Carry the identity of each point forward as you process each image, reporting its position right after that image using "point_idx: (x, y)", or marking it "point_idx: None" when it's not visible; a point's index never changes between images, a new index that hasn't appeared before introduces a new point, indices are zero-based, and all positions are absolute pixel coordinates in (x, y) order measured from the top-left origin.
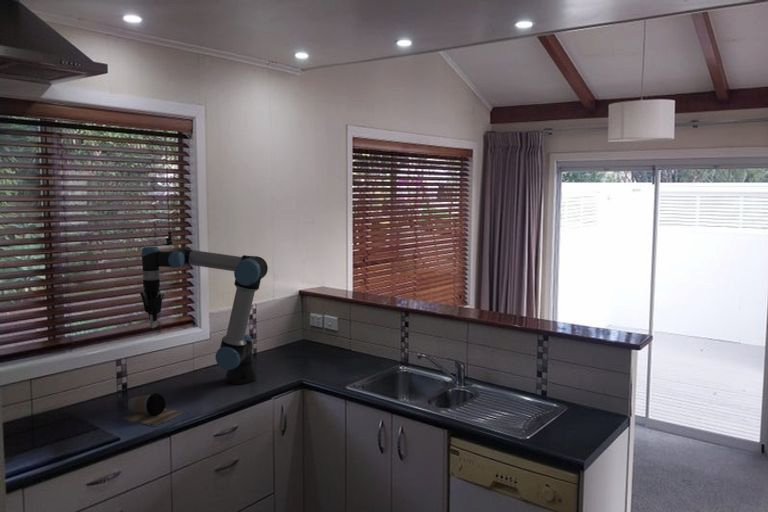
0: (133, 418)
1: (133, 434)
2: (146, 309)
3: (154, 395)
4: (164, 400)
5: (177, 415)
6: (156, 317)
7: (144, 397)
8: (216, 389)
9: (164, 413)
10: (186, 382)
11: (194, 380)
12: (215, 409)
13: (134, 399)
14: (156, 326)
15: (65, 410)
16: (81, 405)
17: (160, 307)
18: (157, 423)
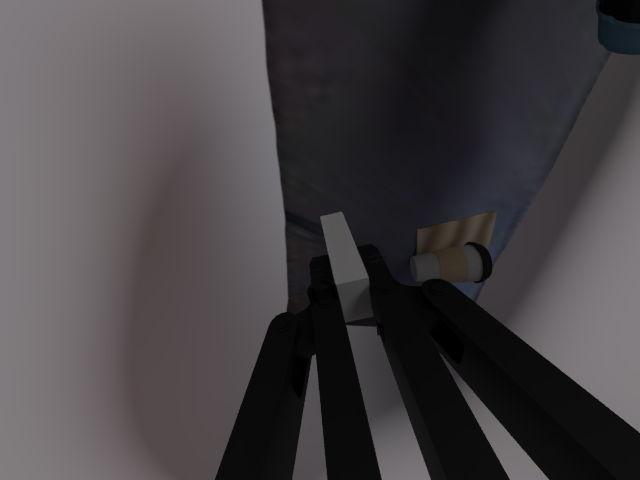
0: None
1: (468, 291)
2: (308, 376)
3: (485, 275)
4: (486, 251)
5: (492, 225)
6: (383, 265)
7: (462, 281)
8: (487, 45)
9: (466, 235)
10: (354, 58)
11: (360, 19)
12: (550, 159)
13: None
14: (342, 214)
15: (302, 310)
16: (299, 291)
17: (507, 337)
18: None
